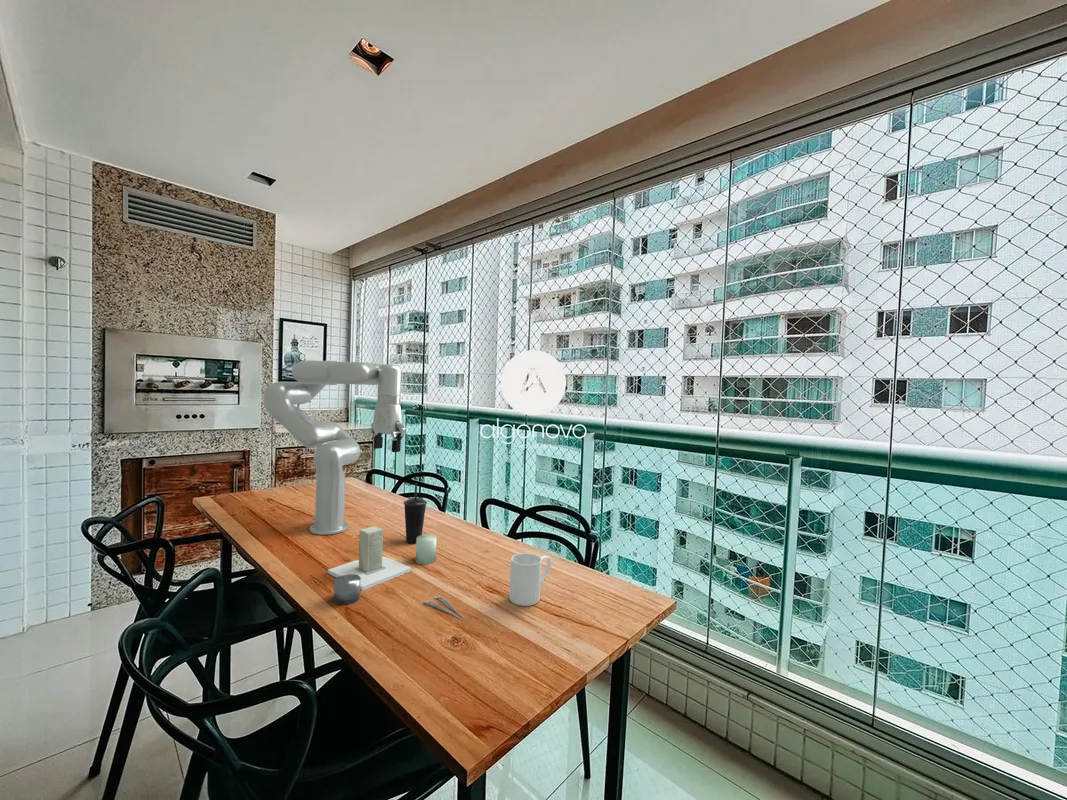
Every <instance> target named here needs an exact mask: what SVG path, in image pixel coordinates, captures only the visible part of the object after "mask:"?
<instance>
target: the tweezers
mask: <svg viewBox="0 0 1067 800" xmlns="http://www.w3.org/2000/svg"><path fill="white" fill-rule="evenodd" d="M434 598H435V600H439V601H440V602H441V603H442V604H443V605H445V606H446V607H447V608H448V609H447V608H445V607H443V606H440V604H437V603H435V602H433V601H430V600H428V599H427V598H426V599H425V600H424V602H423V603H424V604H426V605H428V606H430V605H431V606H430V607H433V608H435V607H436V608H435V609H437V610H440V611H442V610H443V612H444V611H445V613H446V614H449V615H452V616H454V617H456V618H458V619H460V620H461V621H463V622H465V621H466V622H469V619H467V618H466V617H464V616H463V615H462V614H461V613H460V612H459V611H458V610H456V609H457V608H455V607H454V606H453V605H452V604H451V603H450V602H449V601H448V600H447V599H445V598H444V597H442V596H441V595H438V596H433V599H434ZM449 609H451V610H452V611H453V612H452V611H450V610H449ZM454 611H455V612H454Z"/></svg>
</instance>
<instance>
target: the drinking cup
mask: <svg viewBox="0 0 1067 800" xmlns="http://www.w3.org/2000/svg"><path fill="white" fill-rule="evenodd" d="M417 496H418V483H416V482H415V483H414V497H412V498H409V499H406V500H404V502H403V505H404V519H405V520H404V521H405V522H404V523H405V524H404V525H405V538H406V539H405V543H407V544H409V545H416V541H417V537H418V536H420V535H423V529H424V524H425V523H424V521H425V515H426V514H425V513H426V506H427V504H428V502H427V500H425V499H423V498H421V497H417Z"/></svg>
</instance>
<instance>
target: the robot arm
mask: <svg viewBox="0 0 1067 800" xmlns="http://www.w3.org/2000/svg"><path fill="white" fill-rule="evenodd" d="M291 376H292V378H293V379H294V380H295V381H277V382H273V383H271V384H269V385H267V387H265V389H264V390H263V405H264V407H265V410H266V411H267V413H268V415H270V416H271V417H272V418H273V419H274V420H275V421H277V422H278V423H279V424H280V425H281V426H282V427H283V428H285V430H286V431H287V432H289V433H290V435H292V436H293V437H294V438H295V439H296V440H297V441H298V442H299V443H300V444H301V445H302V446H303V447H305V448H307V449H315V451H314V454H313V461H314V462H313V463H314V467H315V478H316V480H315V482H316V483H315V507H314V508H315V509H314V515H313V516H312V520H314V523H313V524H312V525H310V527H309V532H310V533H311V534H313V535H318V536H319V535H322V536H323V535H324V536H325V535H329V536H330V535H335V534H340V533H343V532H346V531H347V530H349V523H348V522H346V521H345V509H346V508H345V504H346V503H345V502H346V474H345V471H344V470H343V466H346V465H350V464H353V463H355V462H357V461H358V459H359V458H360V457H361V447H360V445H359V443H358V441H356V440H355V438H353V437H352V436H351V435H350V434H349V433H348V432H347V431H346V430H345V429H343V427H341V426H340V425H339V424H338V423H336V422H334V421H331V420H315V419H313V418H312V417H311V416H310V415H308V413H306V412H305V411H304V410H303V409H301V408H299V407H298V406H296V405H304V404H307V403H309V402H310V401H312V400H313V399H314V398H315V397H316V396H317V395H318V394H319V393H320V392H321V391H323V389H324V388H325V387H326V386H337V385H359V386H360V385H362V386H363V385H365V386H366V385H369V386H377V401H376V402H377V403H376V404H375V407H374V413H373V422H372V423H371V424H370V426H371V427H370V428H371V432H372V433H373V434H372V436H373V449H374V450H377V449H383V445H384V444H383V442H384V437H383V435H391V437H392V439H393V440H392V441H391V453H399V452H401V446H402V445H401V444H402V440H403V438H404V436H405V432H406V430H407V429H406V427H405V426H404V425H403V424H402V423H403V422H402V417H403V416H402V408H401V390H402V367H401V366H400V365H398V364H389V363H388V364H387V363H386V364H385V363H384V364H380V363H372V362H362V361H337V360H301V361H298V362H297V363H295V364H294V365H293V367H292V368H291Z"/></svg>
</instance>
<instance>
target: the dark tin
mask: <svg viewBox="0 0 1067 800" xmlns="http://www.w3.org/2000/svg"><path fill="white" fill-rule="evenodd" d="M360 580H361V578H360V576H358V575H354V574H347V575H342V576H339V577H337V578H336V577H335V579H334V582H333V603H334V604H335V605H338V606H349V605H353V604H355V603H357V602H358V601H359V600H360V599H361V590H360Z"/></svg>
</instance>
